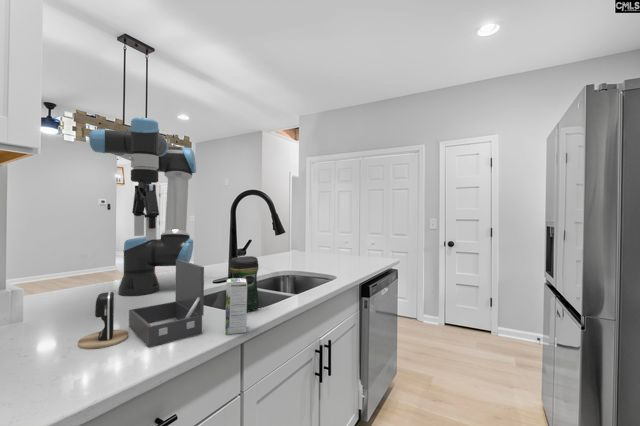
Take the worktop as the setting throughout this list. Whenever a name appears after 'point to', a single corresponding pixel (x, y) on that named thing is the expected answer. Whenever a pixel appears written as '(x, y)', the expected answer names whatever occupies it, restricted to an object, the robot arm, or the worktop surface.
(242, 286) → the syrup box
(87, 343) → the disc
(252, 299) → the coffee jar
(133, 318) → the case
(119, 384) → the worktop surface
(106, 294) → the battery charger
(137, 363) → the worktop surface
